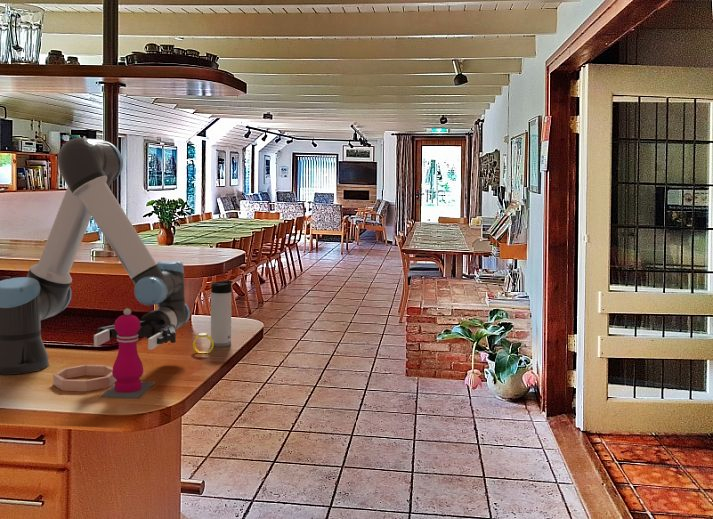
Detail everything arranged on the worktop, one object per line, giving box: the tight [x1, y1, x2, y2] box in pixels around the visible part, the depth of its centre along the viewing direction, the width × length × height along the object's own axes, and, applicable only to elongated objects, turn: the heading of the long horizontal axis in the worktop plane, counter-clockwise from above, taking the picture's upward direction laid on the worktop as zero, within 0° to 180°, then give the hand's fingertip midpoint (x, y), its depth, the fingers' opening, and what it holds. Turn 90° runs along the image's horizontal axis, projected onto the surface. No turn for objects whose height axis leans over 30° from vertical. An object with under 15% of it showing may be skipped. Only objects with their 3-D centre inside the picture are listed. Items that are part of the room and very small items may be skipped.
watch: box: [192, 332, 215, 355], centre depth 208 cm, size 6×3×6 cm, turn 88°
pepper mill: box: [112, 308, 144, 392], centre depth 171 cm, size 7×7×20 cm
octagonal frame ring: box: [52, 364, 117, 392], centre depth 177 cm, size 14×14×2 cm
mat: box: [100, 381, 155, 400], centre depth 172 cm, size 9×12×1 cm
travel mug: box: [210, 280, 233, 348], centre depth 218 cm, size 6×7×20 cm
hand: (122, 342), depth 168 cm, fingers open, 13 cm apart
